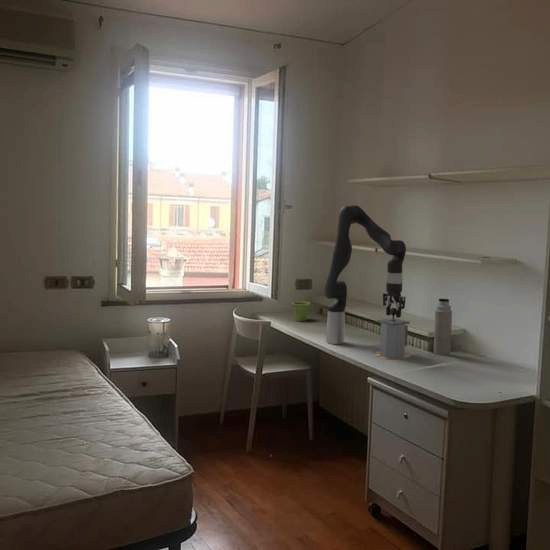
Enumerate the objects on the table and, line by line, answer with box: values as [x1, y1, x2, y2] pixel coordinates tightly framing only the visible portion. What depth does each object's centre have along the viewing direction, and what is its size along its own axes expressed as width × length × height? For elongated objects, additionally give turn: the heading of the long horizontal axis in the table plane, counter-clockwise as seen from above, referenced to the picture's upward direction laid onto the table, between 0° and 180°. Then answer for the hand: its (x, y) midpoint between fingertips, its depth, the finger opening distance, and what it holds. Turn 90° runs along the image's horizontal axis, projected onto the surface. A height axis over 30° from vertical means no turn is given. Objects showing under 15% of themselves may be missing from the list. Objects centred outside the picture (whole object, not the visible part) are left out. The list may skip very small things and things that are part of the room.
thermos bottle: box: [433, 298, 453, 357], centre depth 304 cm, size 8×8×28 cm
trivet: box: [373, 351, 412, 361], centre depth 300 cm, size 18×18×1 cm
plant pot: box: [291, 301, 310, 322], centre depth 397 cm, size 12×12×11 cm
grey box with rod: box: [376, 317, 411, 358], centre depth 300 cm, size 11×14×17 cm
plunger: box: [390, 307, 397, 321], centre depth 298 cm, size 8×8×19 cm
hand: (393, 316), depth 298 cm, fingers open, 6 cm apart
